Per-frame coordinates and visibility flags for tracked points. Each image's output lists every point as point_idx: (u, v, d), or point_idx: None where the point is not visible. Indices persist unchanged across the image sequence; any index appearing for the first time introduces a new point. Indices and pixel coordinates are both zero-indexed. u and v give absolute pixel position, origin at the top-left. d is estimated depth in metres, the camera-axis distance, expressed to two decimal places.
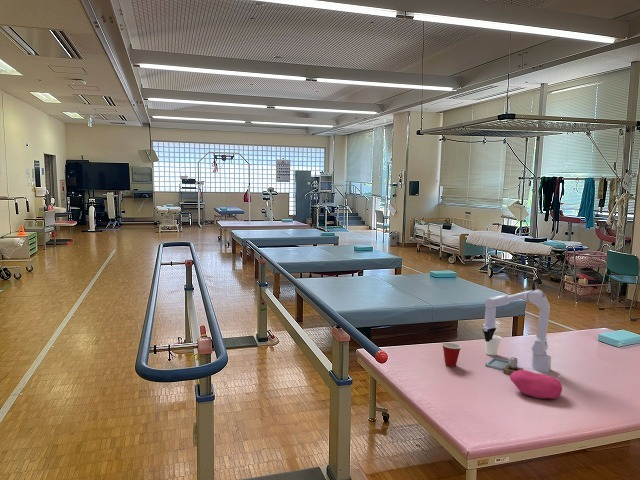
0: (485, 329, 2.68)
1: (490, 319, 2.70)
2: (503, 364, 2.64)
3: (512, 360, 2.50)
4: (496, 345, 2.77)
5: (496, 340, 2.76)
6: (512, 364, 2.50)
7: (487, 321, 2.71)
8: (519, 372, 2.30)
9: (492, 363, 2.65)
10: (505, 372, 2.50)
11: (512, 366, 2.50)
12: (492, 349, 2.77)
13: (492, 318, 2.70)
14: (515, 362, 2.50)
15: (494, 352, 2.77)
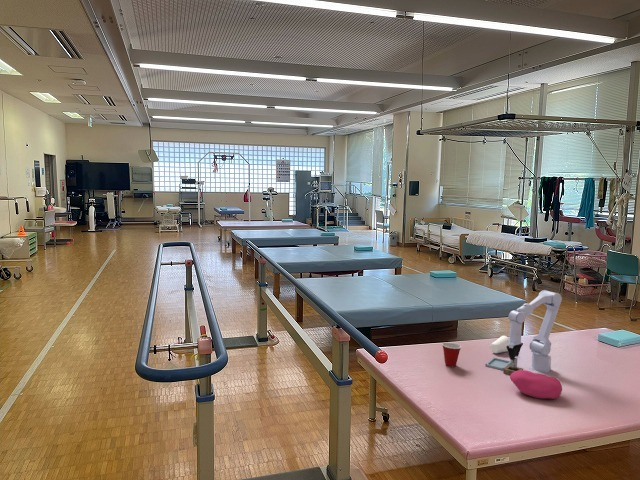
0: (511, 346, 2.44)
1: (516, 334, 2.47)
2: (503, 364, 2.64)
3: (512, 360, 2.50)
4: (505, 345, 2.82)
5: None
6: (512, 364, 2.50)
7: (512, 337, 2.48)
8: (519, 372, 2.30)
9: (492, 363, 2.65)
10: (505, 372, 2.50)
11: (512, 366, 2.50)
12: (500, 343, 2.81)
13: None
14: (515, 362, 2.50)
15: (500, 347, 2.80)
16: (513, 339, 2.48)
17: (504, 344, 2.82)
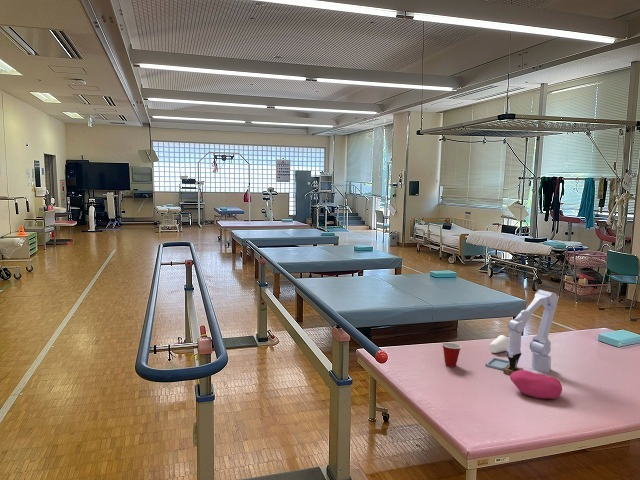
0: (510, 355, 2.45)
1: (515, 344, 2.47)
2: (503, 364, 2.64)
3: None
4: (503, 343, 2.83)
5: (506, 339, 2.84)
6: None
7: (512, 346, 2.48)
8: (519, 372, 2.30)
9: (492, 363, 2.65)
10: (505, 372, 2.50)
11: None
12: (498, 342, 2.83)
13: (520, 342, 2.49)
14: None
15: (498, 345, 2.81)
16: (512, 348, 2.48)
17: (502, 342, 2.83)
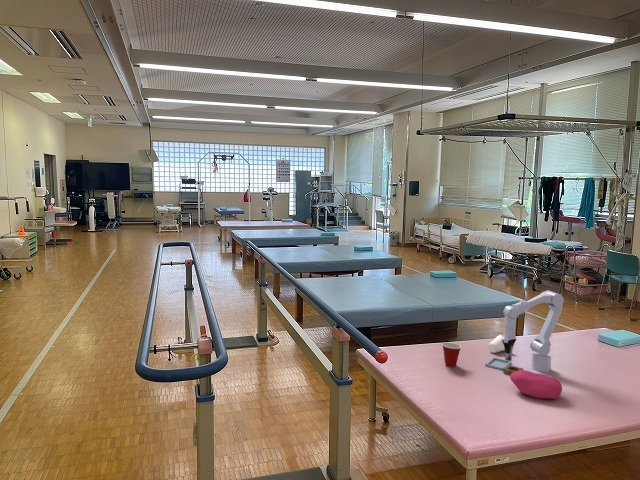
0: (505, 340, 2.48)
1: (510, 329, 2.51)
2: (503, 364, 2.64)
3: None
4: None
5: None
6: None
7: (507, 331, 2.52)
8: (519, 372, 2.30)
9: (492, 363, 2.65)
10: (505, 372, 2.50)
11: None
12: (496, 341, 2.84)
13: (515, 328, 2.52)
14: None
15: (497, 344, 2.82)
16: (508, 334, 2.52)
17: (500, 341, 2.84)
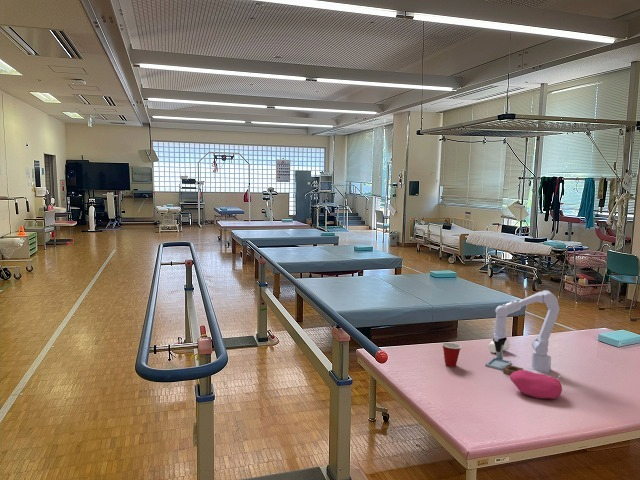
0: (496, 339, 2.56)
1: (501, 328, 2.58)
2: (503, 364, 2.64)
3: None
4: None
5: None
6: None
7: (497, 330, 2.59)
8: (519, 372, 2.30)
9: (492, 363, 2.65)
10: (505, 372, 2.50)
11: (498, 352, 2.61)
12: None
13: (504, 327, 2.59)
14: None
15: None
16: (498, 333, 2.59)
17: None
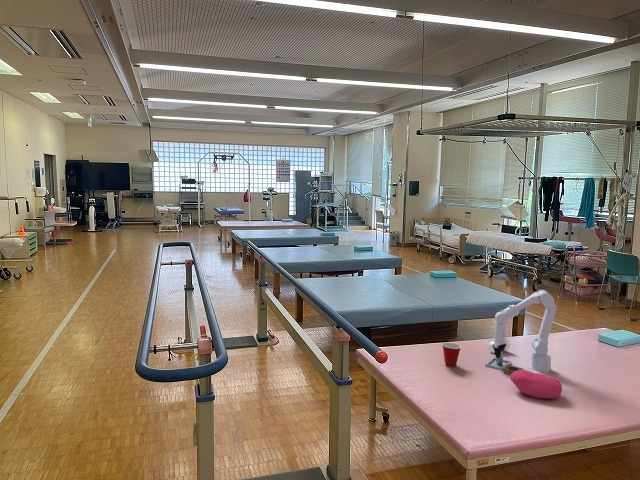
0: (495, 345, 2.56)
1: (500, 335, 2.59)
2: (503, 364, 2.64)
3: None
4: None
5: None
6: None
7: (497, 337, 2.60)
8: (519, 372, 2.30)
9: (492, 363, 2.65)
10: (505, 372, 2.50)
11: (497, 358, 2.62)
12: None
13: (504, 333, 2.59)
14: None
15: None
16: (498, 339, 2.60)
17: None
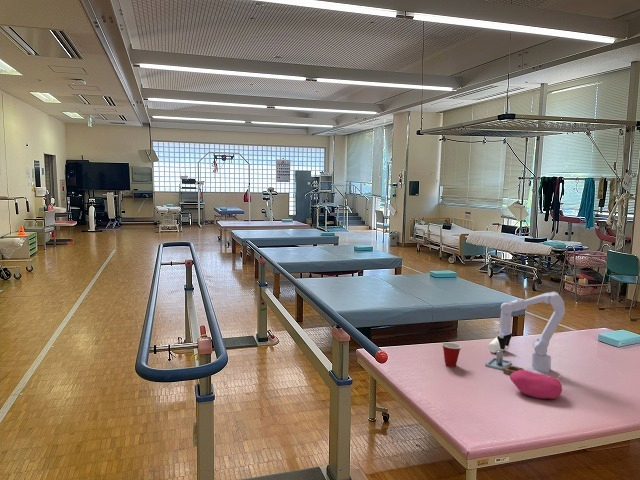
0: (501, 336, 2.57)
1: (506, 325, 2.59)
2: (503, 364, 2.64)
3: (497, 352, 2.62)
4: None
5: None
6: (497, 356, 2.62)
7: (503, 327, 2.60)
8: (519, 372, 2.30)
9: (492, 363, 2.65)
10: (505, 372, 2.50)
11: (497, 358, 2.62)
12: (496, 341, 2.84)
13: (509, 324, 2.60)
14: (500, 354, 2.61)
15: (497, 344, 2.82)
16: (503, 329, 2.60)
17: None
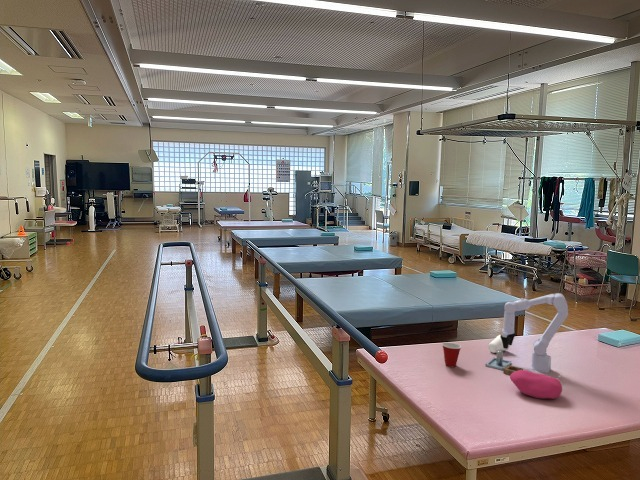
0: (504, 335, 2.58)
1: (509, 324, 2.60)
2: (503, 364, 2.64)
3: (497, 352, 2.62)
4: None
5: None
6: (497, 356, 2.62)
7: (506, 326, 2.61)
8: (519, 372, 2.30)
9: (492, 363, 2.65)
10: (505, 372, 2.50)
11: (497, 358, 2.62)
12: (496, 341, 2.84)
13: (512, 323, 2.60)
14: (500, 354, 2.61)
15: (497, 344, 2.82)
16: (506, 329, 2.61)
17: (500, 341, 2.84)
